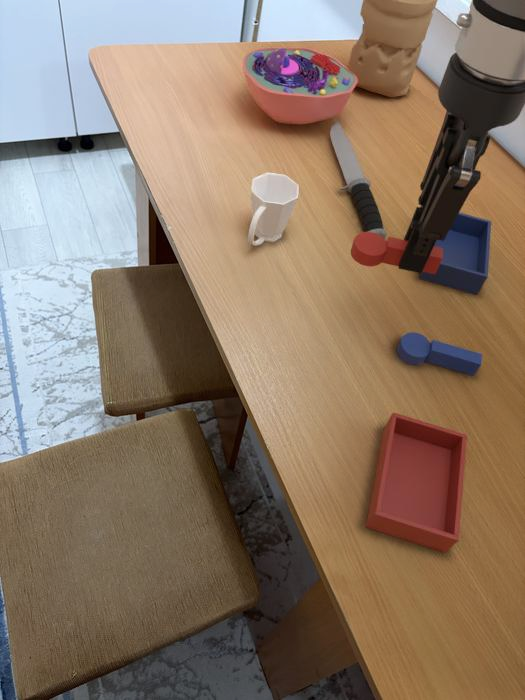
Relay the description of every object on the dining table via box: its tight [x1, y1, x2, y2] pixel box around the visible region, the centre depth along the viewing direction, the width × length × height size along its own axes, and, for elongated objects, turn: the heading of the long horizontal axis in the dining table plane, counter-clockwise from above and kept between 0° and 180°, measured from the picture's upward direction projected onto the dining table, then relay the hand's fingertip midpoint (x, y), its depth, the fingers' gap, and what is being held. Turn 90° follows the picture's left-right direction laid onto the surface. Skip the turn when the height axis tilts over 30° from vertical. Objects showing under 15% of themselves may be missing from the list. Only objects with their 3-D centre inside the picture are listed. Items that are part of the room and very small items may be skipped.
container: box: [347, 0, 438, 98], centre depth 108 cm, size 13×13×18 cm
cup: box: [247, 171, 300, 247], centre depth 83 cm, size 7×10×8 cm
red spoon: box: [350, 231, 443, 274], centre depth 68 cm, size 10×4×3 cm, turn 79°
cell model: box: [242, 46, 358, 125], centre depth 102 cm, size 17×20×11 cm
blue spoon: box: [396, 331, 483, 377], centre depth 75 cm, size 10×4×3 cm, turn 74°
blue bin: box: [418, 211, 492, 295], centre depth 86 cm, size 12×8×4 cm
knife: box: [329, 119, 388, 239], centre depth 95 cm, size 29×3×5 cm
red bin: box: [365, 412, 468, 553], centre depth 63 cm, size 12×8×4 cm
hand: (410, 261), depth 69 cm, fingers closed on red spoon, 2 cm apart
